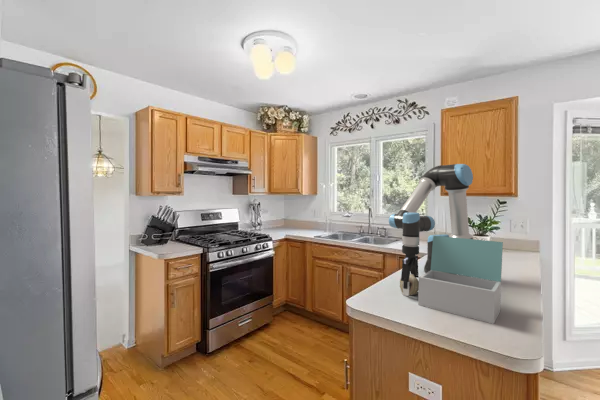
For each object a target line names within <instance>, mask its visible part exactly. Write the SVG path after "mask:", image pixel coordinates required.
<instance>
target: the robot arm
mask: <svg viewBox="0 0 600 400" xmlns="http://www.w3.org/2000/svg"><path fill="white" fill-rule="evenodd" d="M473 175H474V173H473V172H472V169H471V167H470V166H469V165H467V164H465V163H453V164H445V165H437V166H434V167H431V168H429V169H428V170H427V171H426V172H425V173H424V174H423V175H422V176H421V177H420V178H419V180H418V184H417V185H416V187H415V189H414V190H413V191H412V193H411V194H410V196H409V197H408V198H407V200H406V202H404V204H403V205H402V206H401V208H400V210H398V212H397V213H393V214H391V215H390V216H389V218H388V224H389V226H390V227H391V228H392V229H393V228H394V229H399V230H402V237H401V240H402V242H401V243H402V245H401V252H402V254H403V255H405V256H404V258H402V260H401V261H402V262H401V263H402V264H401V265H402V266H401V276H400V279H401V281H403V294H402V296H406V297H410V295H409V285H410V282H409V276H410V274H411V275H412V274H414V277H416V278H417V279H419V277H420V275H419V256H418V255H419V254H420V233H421V232H430V231H432V230H434V229H435V226H436V221H435V219H434V218H433V217H432V216H429V215H420V213H419V212H418V210H419V209H420V208H421V206H422V205H423V203H424V202H425V201H426V199H427V198H428V196H429V195H430V193H431V192H433V191H434V190H435V189H436V188H437V187H440V186H441V187H444V190H445V191H446V192H447V195H448V206H449V216H450V228H451V233H450V234H445V233H444V234H443V233H442V234H430V235H429V236H428V237H427V241H426V244H427V250H426V251H427V254H426V255H427V257H426V258H427V259H426V261H425V264H424V266H423V272H424V273H427V272H429V271H430V270H431V259H432V245H433V236H444V237H454V238H464V239H473V235H472V234H470V229H469V228H470V227H469V218H468V217H469V215H468V201H467V200H468V199H467V191H468V190H469V188H470V186H471V185H472V184H473V180H474V176H473Z"/></svg>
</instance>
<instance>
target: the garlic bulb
mask: <svg viewBox="0 0 600 400" xmlns="http://www.w3.org/2000/svg"><path fill="white" fill-rule="evenodd" d="M409 282H410V285H409V296H413V295H418V292H419V278H417V277H414V274H412V275H411V273H410V276H409ZM399 288H400V291H401V294H402V295H403V281H401V278H400V279H399Z"/></svg>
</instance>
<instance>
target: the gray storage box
mask: <svg viewBox="0 0 600 400" xmlns="http://www.w3.org/2000/svg"><path fill="white" fill-rule="evenodd" d="M418 281H419V290H418V292H417V295H418V296H417V297H418V301H417V305H418V306H420V307H426V308H430V309H433V310H437V311H442V312H445V313H449V314H454V315H457V316H461V317H464V318H469V319H473V320H477V321H481V322H485V323H489V324H492V325H494V324H495V322H496V320H497V318H498V316H499V314H500V312H501V296H502V295H501V291H502V290H501V289H502V281H501V282H499V281H493V280H487V279H481V278H475V277H469V276H463V275H458V274H451V273H445V272H439V271H434V270H430V271H429V272H427V273H426V272H424V273H423V274H422V275H419V277H418Z"/></svg>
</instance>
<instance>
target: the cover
mask: <svg viewBox="0 0 600 400" xmlns="http://www.w3.org/2000/svg"><path fill="white" fill-rule="evenodd" d="M503 246H504V242H503V241H497V240H496V241H495V240H484V239H464V238H454V237H444V236H433V245H432V259H431V270H434V271H440V272H446V273H452V274H457V275H463V276H469V277H474V278H480V279H486V280H492V281H498V282H501V283H502V273H503V272H502V270H503V267H502V266H503V249H504V248H503Z"/></svg>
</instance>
